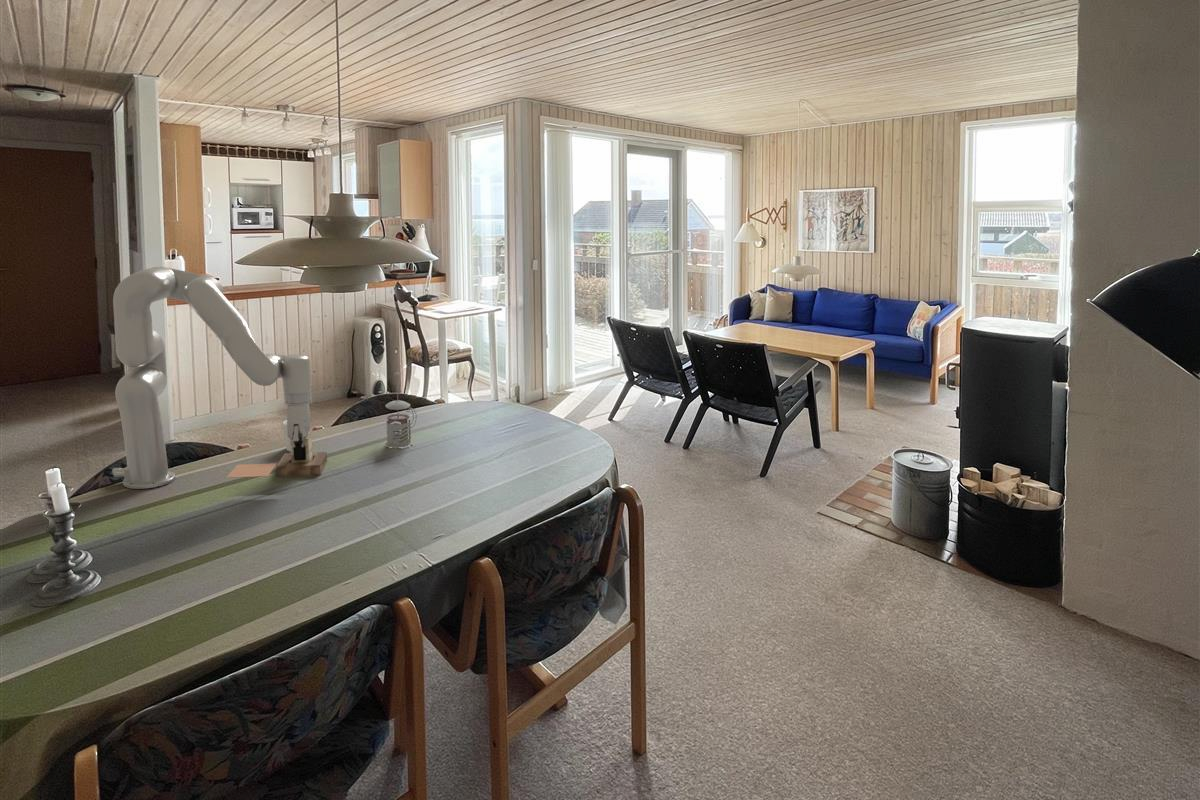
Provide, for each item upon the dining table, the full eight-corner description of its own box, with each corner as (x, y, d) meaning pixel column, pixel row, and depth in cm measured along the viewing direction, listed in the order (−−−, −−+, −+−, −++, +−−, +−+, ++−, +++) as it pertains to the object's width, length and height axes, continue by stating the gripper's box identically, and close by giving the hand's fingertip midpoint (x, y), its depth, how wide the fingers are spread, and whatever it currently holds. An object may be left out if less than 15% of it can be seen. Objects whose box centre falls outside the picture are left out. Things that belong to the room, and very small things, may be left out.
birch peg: (292, 471, 212) (289, 439, 210) (295, 466, 217) (293, 434, 215) (310, 471, 213) (308, 438, 211) (313, 465, 218) (311, 433, 216)
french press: (378, 444, 244) (375, 371, 237) (407, 437, 252) (405, 367, 246) (395, 451, 237) (392, 376, 231) (424, 443, 246) (422, 371, 240)
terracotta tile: (226, 480, 206) (226, 477, 206) (237, 467, 217) (237, 464, 217) (268, 479, 209) (267, 476, 208) (276, 466, 219) (276, 463, 219)
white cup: (316, 450, 235) (314, 421, 232) (294, 456, 228) (292, 426, 226) (301, 446, 239) (299, 416, 236) (279, 451, 232) (277, 422, 230)
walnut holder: (277, 479, 209) (276, 466, 208) (285, 465, 220) (284, 453, 219) (321, 478, 211) (320, 465, 210) (327, 464, 222) (326, 452, 222)
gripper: (290, 390, 217) (294, 448, 222) (277, 405, 201) (282, 466, 206) (316, 390, 219) (320, 447, 223) (306, 404, 203) (310, 465, 207)
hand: (302, 456), depth 214 cm, fingers closed on birch peg, 4 cm apart
